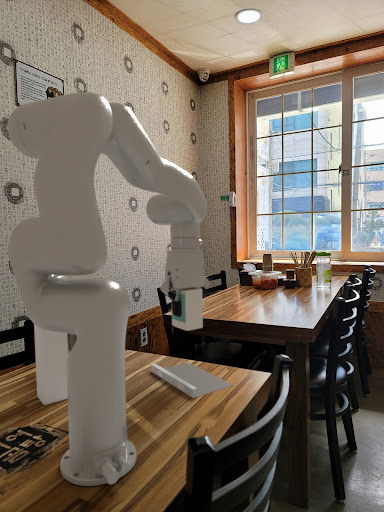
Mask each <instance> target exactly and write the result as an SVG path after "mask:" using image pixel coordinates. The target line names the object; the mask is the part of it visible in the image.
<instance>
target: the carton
mask: <svg viewBox="0 0 384 512" xmlns="http://www.w3.org/2000/svg"><path fill="white" fill-rule="evenodd" d="M171 290H172V288H170V291H171ZM179 301H181V317H178V316H175V315H173V312H172V311H171V325H172V326H173V327H175V328H179V329H180V330H183V331H187V332H188V331H189V332H190V331H194V330H198V329H204V328H203V327H204V321H203V320H204V318H203V317H204V315H203V296H202V289H198V288H190V289H182V290H181V294H180V298H179Z"/></svg>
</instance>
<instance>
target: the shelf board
mask: <svg viewBox="0 0 384 512" xmlns="http://www.w3.org/2000/svg"><path fill="white" fill-rule="evenodd" d="M150 365H151V366H150V368H151V369H150V370H151V371H150V372H151V373H152V374H154V375H155V376H157V377H158V378H161V379H162V380H164V381H165V382H167V384H170V385H172V386H173V387H175V388H176V389H177V390H179V391H181V392H183V393H184V394H185V395H187V396H188V397H190V398H192V399H195V398H199V397H202V396H204V395H207V394H211V393H215V392H217V391H220V390H223V389H226V388H229V387H232V386H234V384H232V383H230V382H228V381H226V380H224V379H222V378H221V377H218V376H216V375H214V374H212V373H210V372H208V371H207V370H204V369H202V368H200V367H198V366H196V365H194V364H192V363H190V362H189V361H188V362H184V363H180V364H175V365H173V366H169V367H164V368H163V367H162V366H160V365H158V364H157V363H151V364H150Z"/></svg>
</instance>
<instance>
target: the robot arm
mask: <svg viewBox="0 0 384 512" xmlns="http://www.w3.org/2000/svg"><path fill="white" fill-rule="evenodd" d="M7 133H8V137H9V139H10V141H11V143H12V145H13V146H14V147H15V148H16V149H17V150H18V151H19V152H20V153H21V154H23V155H24V156H27V158H31V159H35V160H37V159H38V160H37V162H36V165H35V170H34V174H33V193H34V196H35V200H36V204H37V205H36V206H37V210H38V213H39V216H32V217H28V218H26V219H23V220H21V221H20V222H19V223H17V224H16V225H15V227H14V228H13V229H12V231H11V233H10V236H9V241H8V248H7V251H8V259H9V264H10V266H11V271H12V272H13V276H14V279H15V282H16V285H17V287H18V291H19V293H20V297H21V300H22V302H23V306H24V309H25V311H26V314H27V315H28V317H29V319H30V320H31V322H32V323H33V325H34V324H35V325H36V326H37V327H39V328H41V329H44V330H48V331H53V332H61V333H70V334H75V335H77V340H76V343H75V345H74V346H73V348H72V350H71V352H70V351H69V353H68V360H67V393H68V399H67V415H68V419H67V421H68V436H69V437H68V442H69V449H67V450H66V452H64V453H63V455H62V457H61V458H60V466H59V467H60V468H59V469H60V473H61V476H62V477H63V479H64V480H66V481H67V482H68V483H71V484H74V485H77V486H84V487H93V486H95V487H96V486H101V485H104V484H108V485H113V484H116V483H117V482H118V480H120V478H122V477H124V476H125V475H127V474H128V473H129V472H131V470H132V469H133V468H134V466H135V464H136V463H137V447H136V446H135V445H134V443H133V442H132V441H131V440H129V439H128V424H127V423H128V422H127V420H128V419H127V391H126V388H127V387H126V385H127V384H126V351H125V350H126V336H127V335H126V334H127V327H128V322H129V315H130V306H131V305H130V297H129V294H128V292H127V291H126V289H125V288H124V287H123V286H122V285H121V284H120V283H118V282H116V281H114V280H111V279H108V278H100V277H82V276H87V275H92V274H95V273H97V272H99V271H100V270H102V269H103V268H104V266H105V265H106V263H107V259H108V247H107V240H106V236H105V231H104V227H103V222H102V218H101V214H100V209H99V205H98V204H99V203H98V201H97V195H96V190H95V183H94V181H95V180H94V179H95V178H94V176H95V171H96V170H95V169H96V167H97V163H98V161H99V158H100V156H101V155H105V156H106V157H107V158H108V159H109V160H110V162H111V163H112V164H113V166H115V168H116V169H117V170H118V172H120V174H121V175H122V177H123V178H124V179H125V180H126V182H127V183H128V184H129V185H131V186H133V187H135V188H138V189H141V190H143V191H146V192H152V193H156V194H155V195H152V196H151V197H150V198H149V199H148V201H147V202H146V206H145V213H146V215H147V218H148V220H150V221H151V222H152V223H153V224H155V225H160V226H170V250H167V254H166V260H165V267H164V269H165V270H164V271H165V272H164V282H163V283H162V284H161V286H160V289H159V290H160V291H161V292H162V293H164V294H165V295H166V296H167V297H168V298H169V299H170V300H171V313H172V312H173V315H175V316H178V317H181V301H179V298H180V294H181V290H182V289H190V288H198V289H202V297H204V296H203V295H204V294H205V292H206V290H207V289H208V288H209V287H210V285H211V282H210V280H209V279H208V278H207V277H206V267H205V259H204V253H203V250H202V249H201V245H203V244H204V243H203V242H204V241H203V239H201V235H200V233H201V230H200V228H201V227H200V223H202V222H203V221H204V220H205V219H206V216H207V214H208V204H207V200H206V197H205V195H204V192H203V190H202V188H201V186H200V185H199V183H198V181H197V180H196V178H195V177H194V176H193V175H192V174H190V173H189V172H188V171H187V170H184V169H183V168H181V167H180V166H178V165H176V164H175V163H173V162H171V161H169V160H167V159H164V158H163V157H161V156H160V154H159V152H158V151H157V149H156V147H155V145H154V144H153V142H152V141H151V139H150V138H149V136H148V134H147V133H146V131H145V129H144V128H143V126H142V124H141V123H140V121H139V120H138V118H137V116H136V115H135V113H134V112H133V111H132V110H131V108H130V107H128V106H127V105H125V104H123V103H121V102H109V101H108V100H107V99H106V98H105V97H104V96H102V95H101V94H98V93H95V92H91V91H86V92H85V91H84V92H73V93H68V94H67V93H66V94H62V95H58V96H53V97H49V98H46V99H40V100H35V101H32V102H27V103H24V104H20V105H19V106H17V107H16V108H14V110H13V111H12V112H11V113H10V115H9V117H8V121H7ZM70 276H71V277H70ZM72 276H81V277H72ZM171 288H172V290H171Z"/></svg>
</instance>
